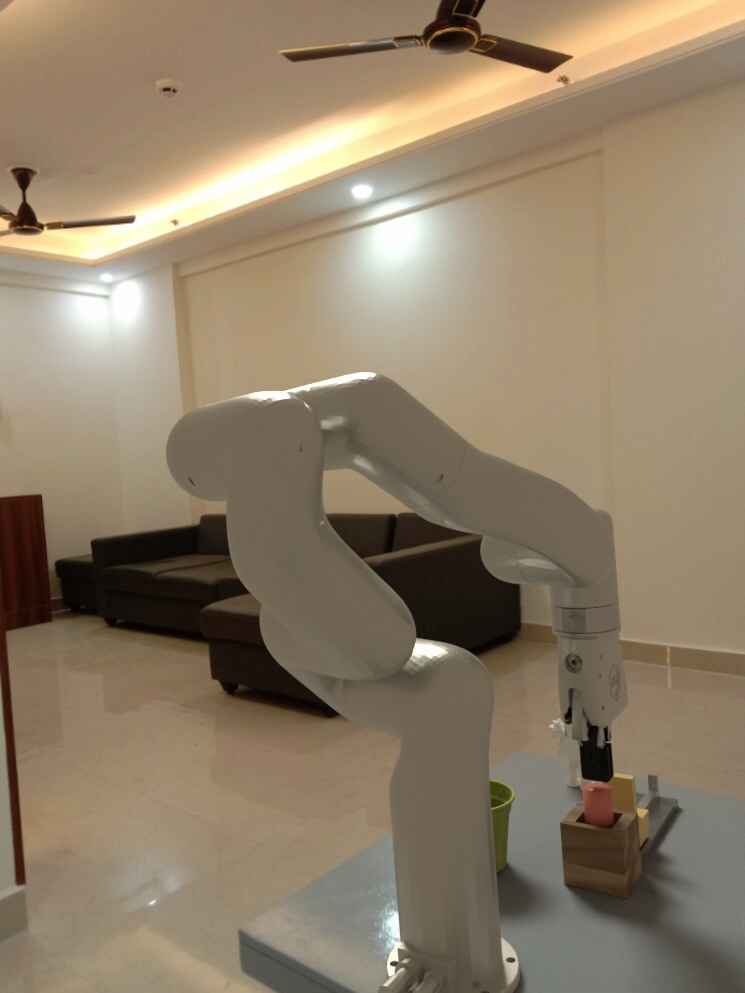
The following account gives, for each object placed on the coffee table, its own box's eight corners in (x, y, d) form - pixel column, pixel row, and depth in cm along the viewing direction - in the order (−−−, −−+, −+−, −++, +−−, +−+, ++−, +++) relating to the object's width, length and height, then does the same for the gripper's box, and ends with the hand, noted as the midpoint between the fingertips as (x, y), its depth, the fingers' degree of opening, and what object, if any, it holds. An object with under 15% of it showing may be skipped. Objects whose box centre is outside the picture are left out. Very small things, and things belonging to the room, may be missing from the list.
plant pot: (496, 892, 89) (491, 816, 89) (426, 872, 95) (421, 800, 94) (533, 857, 96) (528, 786, 96) (466, 840, 102) (461, 773, 102)
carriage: (638, 851, 93) (634, 786, 93) (595, 843, 96) (590, 779, 96) (650, 834, 97) (645, 771, 97) (608, 826, 100) (603, 765, 100)
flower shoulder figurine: (548, 782, 118) (542, 703, 118) (564, 774, 121) (558, 697, 120) (599, 798, 111) (593, 714, 111) (615, 790, 114) (609, 707, 113)
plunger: (609, 840, 88) (606, 796, 88) (581, 835, 89) (578, 791, 89) (618, 828, 90) (615, 785, 90) (590, 823, 92) (587, 781, 92)
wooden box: (626, 898, 86) (622, 834, 85) (564, 883, 89) (559, 822, 89) (641, 873, 90) (637, 812, 90) (582, 860, 94) (578, 802, 94)
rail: (638, 870, 91) (636, 836, 91) (587, 859, 95) (585, 826, 94) (678, 806, 107) (676, 777, 107) (633, 799, 110) (631, 770, 110)
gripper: (596, 634, 81) (610, 810, 82) (637, 606, 93) (649, 759, 94) (528, 631, 85) (541, 798, 86) (576, 605, 98) (587, 751, 98)
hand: (597, 778), depth 90 cm, fingers closed
